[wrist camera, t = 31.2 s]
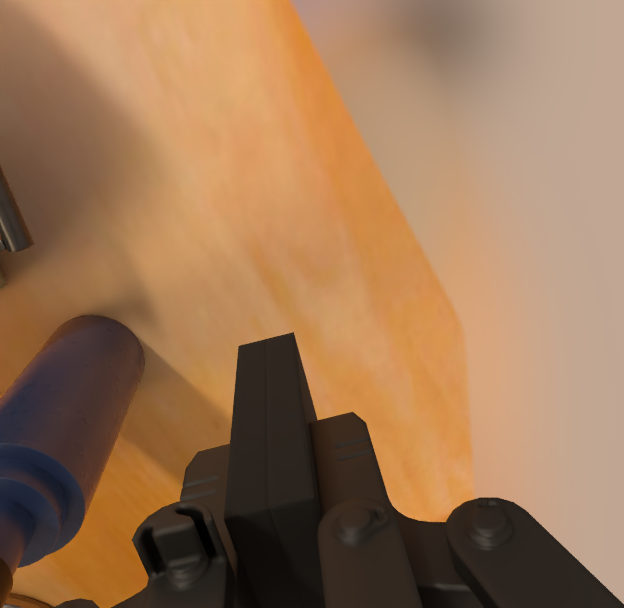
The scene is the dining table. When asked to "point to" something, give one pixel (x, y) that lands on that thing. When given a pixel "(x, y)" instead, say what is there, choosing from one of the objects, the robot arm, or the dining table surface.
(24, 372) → the bottle
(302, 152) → the dining table surface
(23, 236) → the drawer
